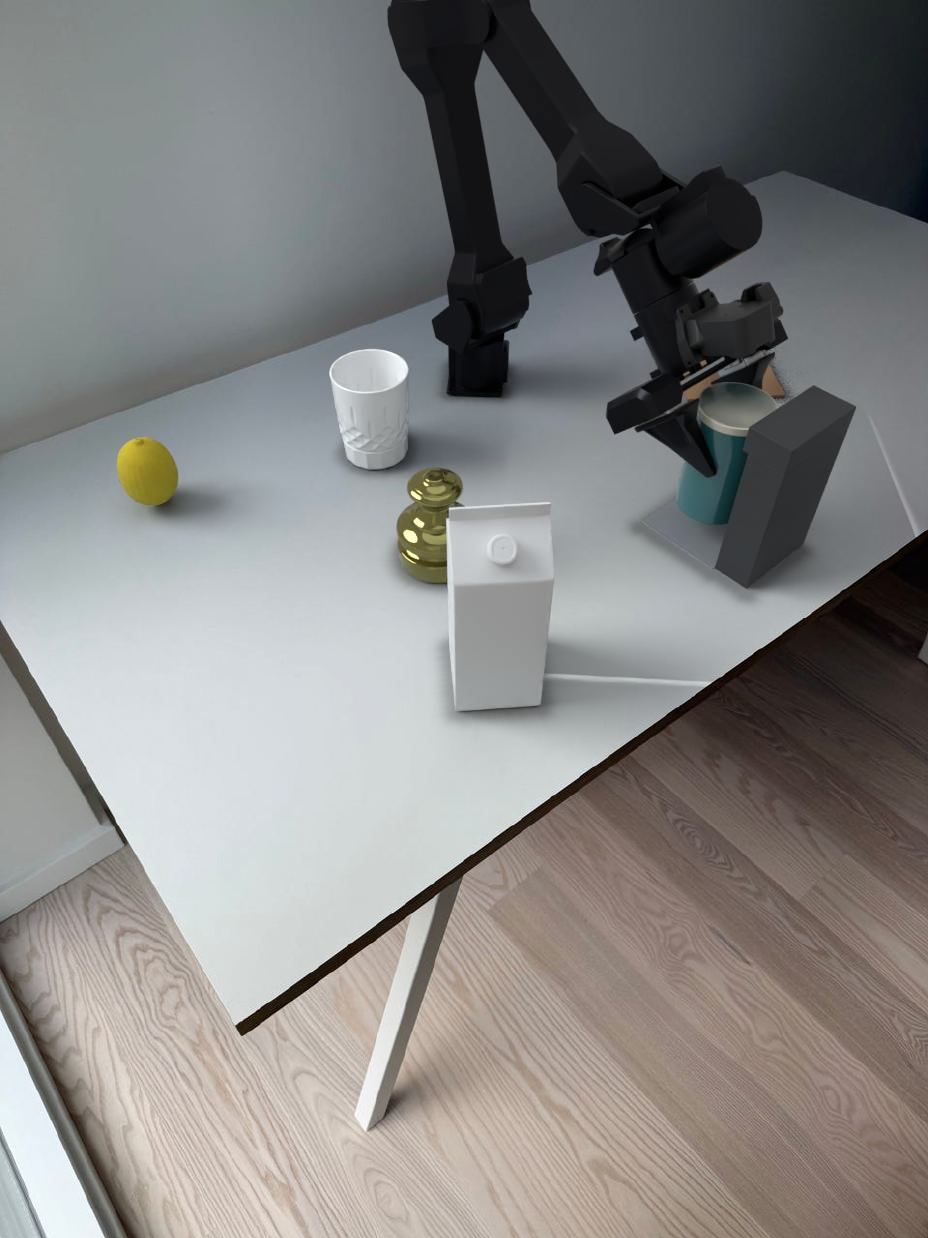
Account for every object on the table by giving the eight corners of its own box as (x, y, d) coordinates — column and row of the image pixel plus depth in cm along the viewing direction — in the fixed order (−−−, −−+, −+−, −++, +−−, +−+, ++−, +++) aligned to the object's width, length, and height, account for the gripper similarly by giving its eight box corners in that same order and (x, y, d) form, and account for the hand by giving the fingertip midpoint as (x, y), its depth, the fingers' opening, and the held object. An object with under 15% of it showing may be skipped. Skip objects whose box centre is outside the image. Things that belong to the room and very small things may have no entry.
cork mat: (682, 402, 102) (683, 399, 102) (659, 345, 110) (660, 342, 110) (784, 397, 103) (785, 394, 103) (754, 341, 111) (755, 339, 111)
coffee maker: (639, 527, 88) (668, 384, 76) (701, 485, 92) (737, 344, 80) (742, 596, 82) (790, 452, 70) (803, 548, 86) (859, 404, 74)
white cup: (402, 478, 93) (397, 396, 86) (330, 468, 94) (319, 387, 87) (420, 433, 98) (416, 353, 91) (351, 425, 99) (342, 344, 92)
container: (677, 523, 84) (701, 427, 75) (671, 475, 88) (693, 380, 80) (753, 527, 83) (785, 431, 75) (742, 479, 88) (772, 383, 80)
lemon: (196, 492, 92) (177, 428, 86) (167, 526, 88) (145, 462, 82) (149, 481, 93) (128, 417, 87) (119, 514, 89) (94, 450, 84)
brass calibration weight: (419, 595, 82) (414, 513, 75) (386, 546, 86) (378, 464, 79) (489, 569, 84) (492, 487, 77) (454, 522, 89) (452, 440, 81)
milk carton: (448, 646, 78) (445, 475, 64) (529, 641, 78) (543, 470, 64) (455, 712, 73) (452, 544, 59) (541, 706, 74) (559, 537, 59)
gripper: (653, 299, 67) (738, 485, 69) (800, 224, 75) (871, 394, 78) (568, 349, 76) (646, 511, 79) (706, 278, 85) (772, 427, 87)
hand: (736, 459), depth 81 cm, fingers closed on container, 7 cm apart
